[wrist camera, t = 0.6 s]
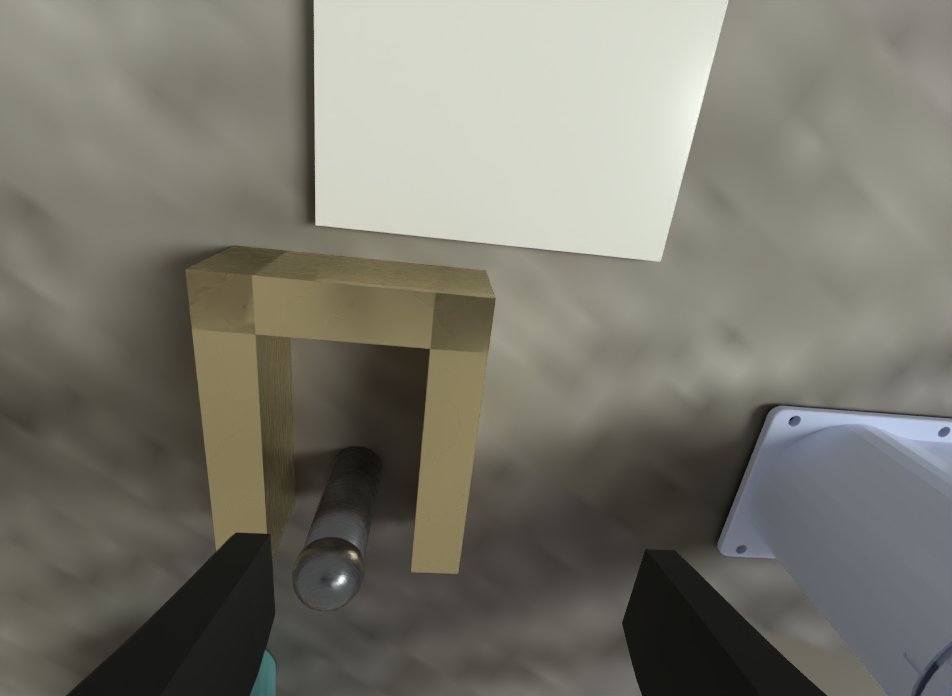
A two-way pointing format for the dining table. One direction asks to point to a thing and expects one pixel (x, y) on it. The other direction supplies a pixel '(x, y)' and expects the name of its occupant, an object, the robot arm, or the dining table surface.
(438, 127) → the coaster
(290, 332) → the c link
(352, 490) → the post
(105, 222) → the dining table surface
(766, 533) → the robot arm
